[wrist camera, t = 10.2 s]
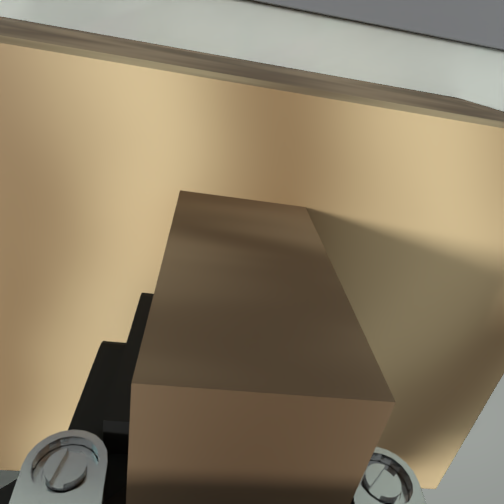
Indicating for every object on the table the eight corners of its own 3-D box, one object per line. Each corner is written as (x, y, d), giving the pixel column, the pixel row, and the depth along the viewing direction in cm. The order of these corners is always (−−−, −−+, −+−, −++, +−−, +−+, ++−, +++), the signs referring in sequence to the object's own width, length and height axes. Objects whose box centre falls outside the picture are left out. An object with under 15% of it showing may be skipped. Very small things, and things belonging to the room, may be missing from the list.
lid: (-57, 427, 15) (-277, 746, 8) (-160, 7, 9) (-1226, -44, 2) (419, 453, 17) (541, 717, 11) (586, 136, 11) (1094, 289, 5)
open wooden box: (31, 374, 23) (-60, 541, 16) (-4, 15, 15) (-224, 5, 8) (346, 397, 25) (399, 552, 18) (457, 98, 18) (633, 151, 10)
